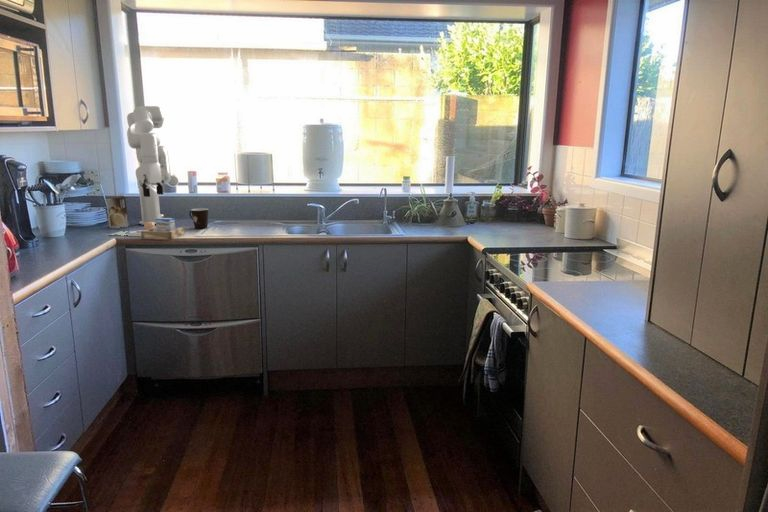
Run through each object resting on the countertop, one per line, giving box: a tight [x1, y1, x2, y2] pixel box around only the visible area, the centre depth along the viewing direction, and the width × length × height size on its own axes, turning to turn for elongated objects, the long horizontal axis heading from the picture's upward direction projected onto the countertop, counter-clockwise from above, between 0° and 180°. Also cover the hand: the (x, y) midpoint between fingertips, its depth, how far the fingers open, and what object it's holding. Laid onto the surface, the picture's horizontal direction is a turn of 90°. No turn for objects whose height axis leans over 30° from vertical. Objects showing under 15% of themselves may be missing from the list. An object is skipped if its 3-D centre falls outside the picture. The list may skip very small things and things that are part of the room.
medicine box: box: [155, 217, 176, 232], centre depth 276 cm, size 8×4×9 cm, turn 80°
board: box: [109, 230, 129, 237], centre depth 280 cm, size 10×9×1 cm
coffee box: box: [104, 195, 130, 229], centre depth 297 cm, size 9×6×16 cm
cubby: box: [140, 226, 185, 241], centre depth 274 cm, size 14×15×4 cm
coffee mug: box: [188, 207, 209, 230], centre depth 296 cm, size 12×9×10 cm
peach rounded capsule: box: [143, 222, 156, 230], centre depth 285 cm, size 5×5×5 cm
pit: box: [128, 229, 143, 237], centre depth 277 cm, size 7×7×2 cm
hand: (153, 195), depth 271 cm, fingers open, 9 cm apart
